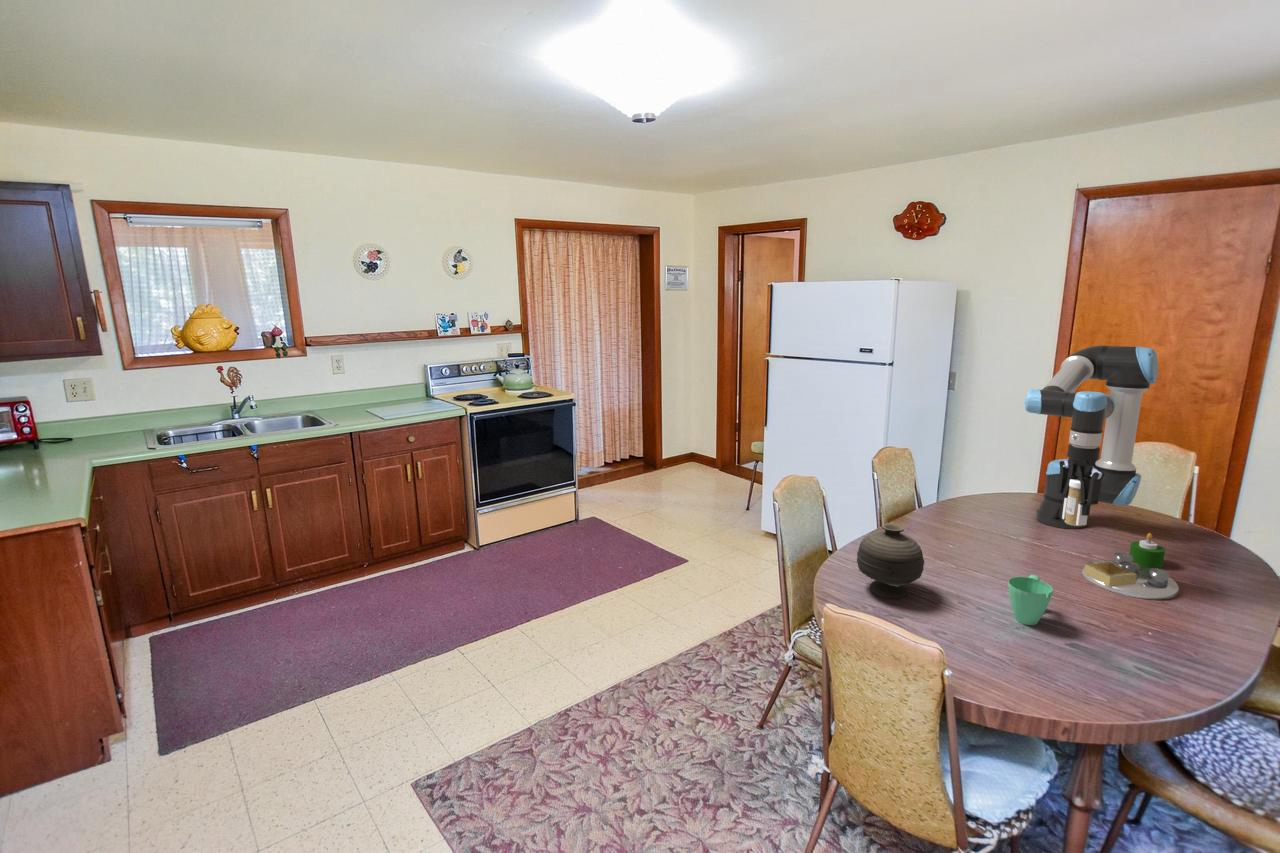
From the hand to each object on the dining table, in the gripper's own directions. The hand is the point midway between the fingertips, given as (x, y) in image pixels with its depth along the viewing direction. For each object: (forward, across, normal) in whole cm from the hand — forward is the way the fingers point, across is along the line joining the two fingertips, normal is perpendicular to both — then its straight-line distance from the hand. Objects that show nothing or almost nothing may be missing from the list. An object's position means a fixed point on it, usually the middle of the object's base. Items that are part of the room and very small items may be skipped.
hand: (1073, 521), depth 183 cm
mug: (+17, +21, -30) cm, 40 cm away
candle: (+17, -2, +29) cm, 33 cm away
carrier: (+17, +8, +13) cm, 22 cm away
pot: (+17, +1, -58) cm, 61 cm away
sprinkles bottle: (+1, 0, 0) cm, 1 cm away
